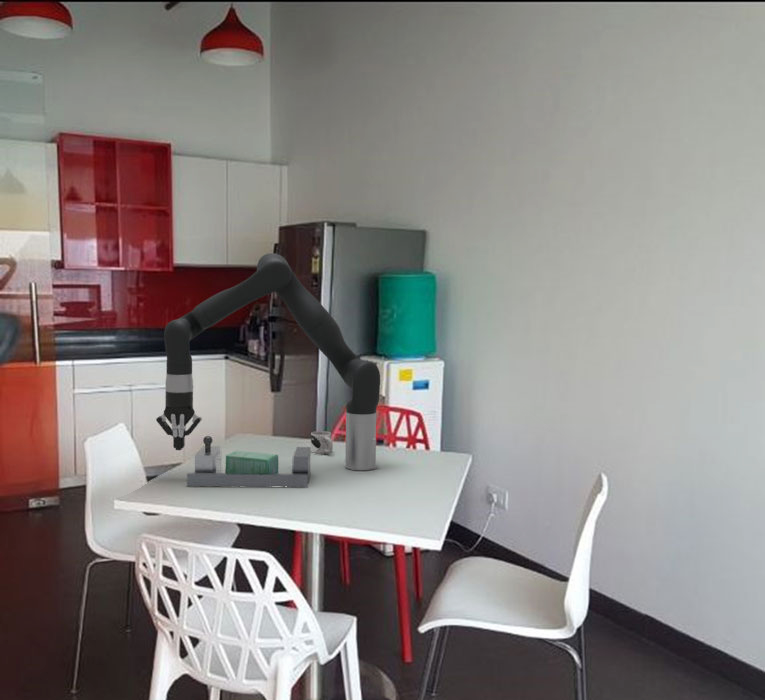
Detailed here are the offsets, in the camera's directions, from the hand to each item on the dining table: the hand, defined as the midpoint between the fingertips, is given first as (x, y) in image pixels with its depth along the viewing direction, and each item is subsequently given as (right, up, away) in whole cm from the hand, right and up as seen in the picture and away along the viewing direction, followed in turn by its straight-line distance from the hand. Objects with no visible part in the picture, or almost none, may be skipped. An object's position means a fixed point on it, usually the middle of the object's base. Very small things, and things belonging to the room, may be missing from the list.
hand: (179, 449), depth 208 cm
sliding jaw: (+8, -8, +1) cm, 12 cm away
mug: (+38, -6, +35) cm, 52 cm away
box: (+21, -9, +1) cm, 23 cm away
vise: (+20, -9, 0) cm, 22 cm away
